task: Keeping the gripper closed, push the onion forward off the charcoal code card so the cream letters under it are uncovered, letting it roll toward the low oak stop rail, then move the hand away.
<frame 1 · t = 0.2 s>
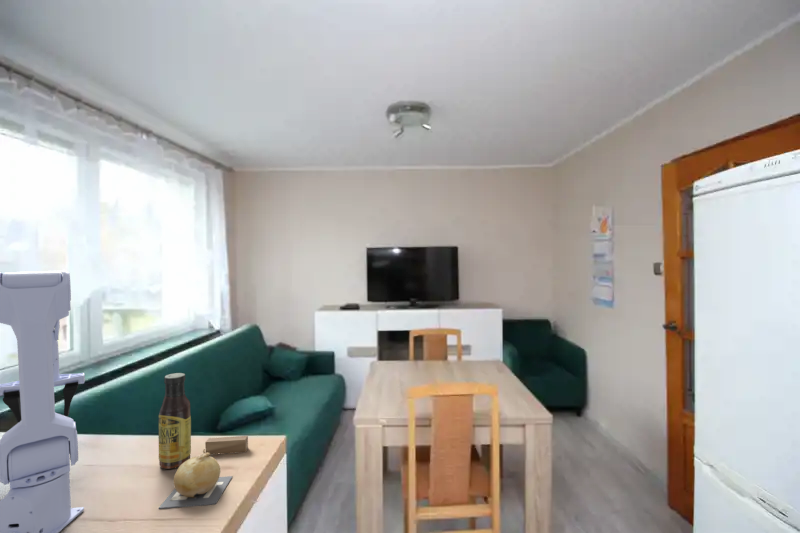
hand: (44, 418, 88), 10 cm above the table, tool pointing down, fingers open, 7 cm apart
stop rail: (227, 451, 91), on the table
sauce bottle: (176, 464, 86), on the table
code card: (197, 491, 75), on the table
onion: (197, 491, 75), resting on code card
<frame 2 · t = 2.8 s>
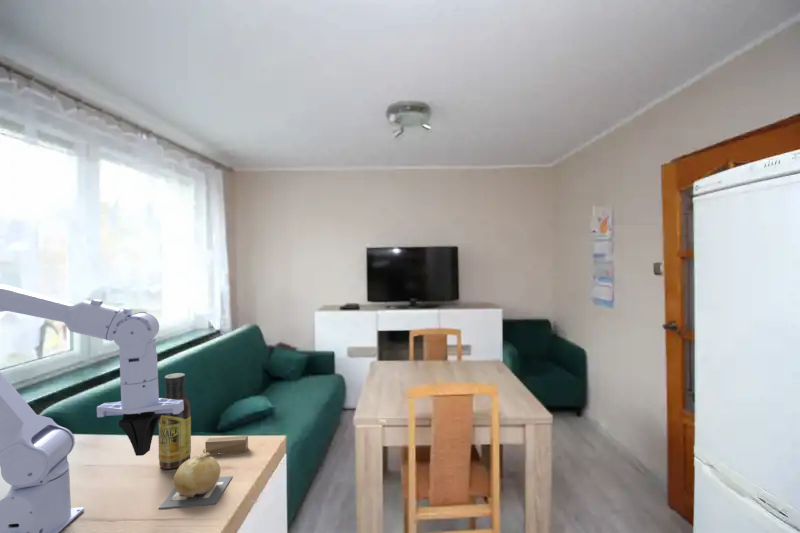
hand: (142, 452, 71), 10 cm above the table, tool pointing down, fingers closed
nothing on the table moved.
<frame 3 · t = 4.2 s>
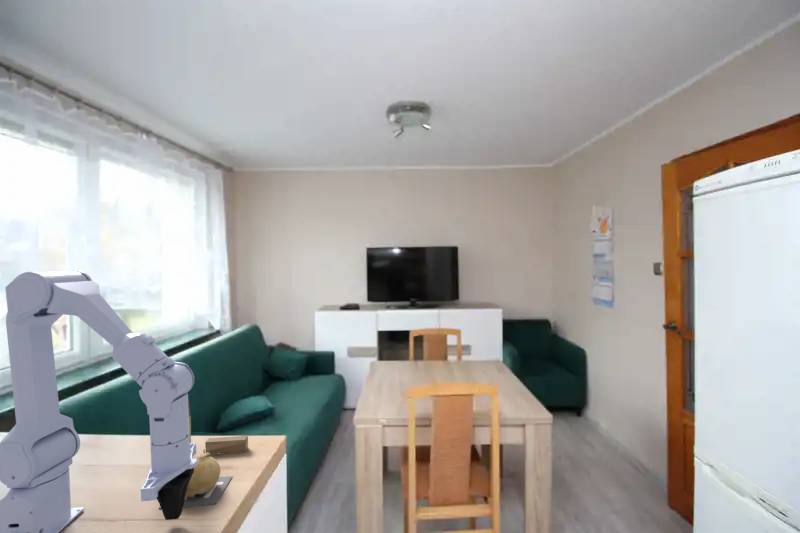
hand: (173, 516, 66), 1 cm above the table, tool pointing down, fingers closed
nothing on the table moved.
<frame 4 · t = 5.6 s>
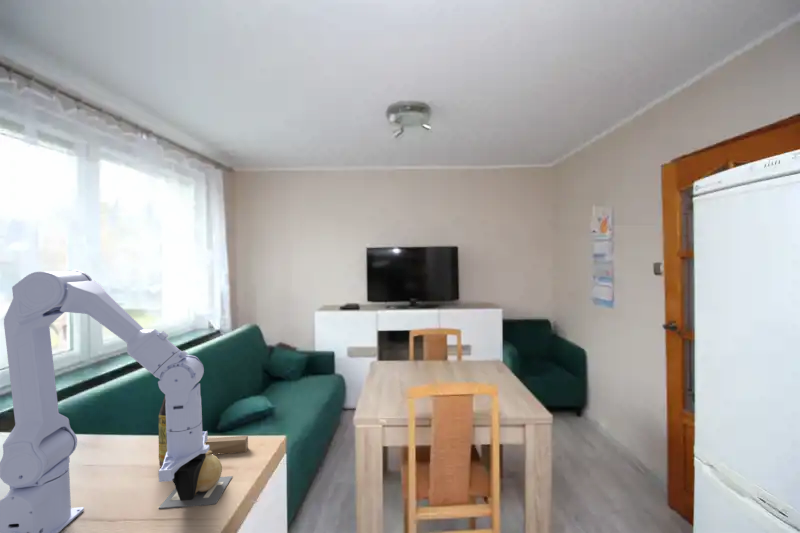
hand: (187, 498, 71), 1 cm above the table, tool pointing down, fingers closed
onion: (199, 489, 76), resting on code card, touching gripper
everything else where it was.
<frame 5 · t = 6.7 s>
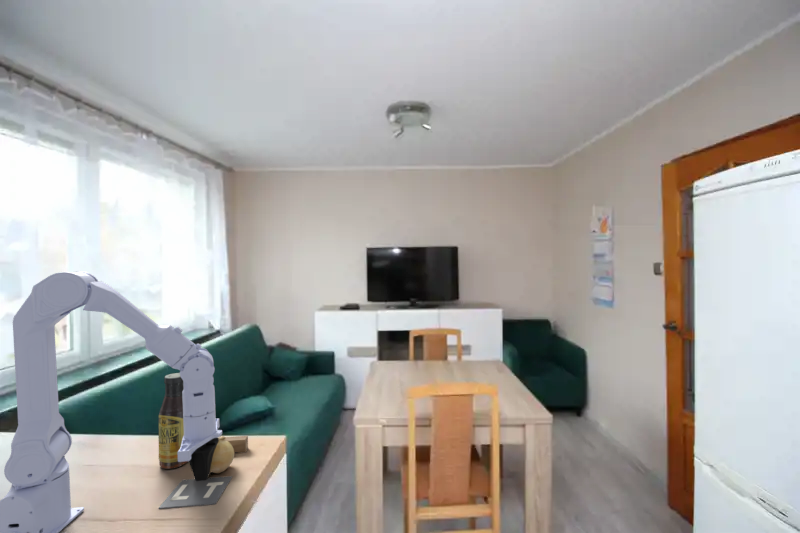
hand: (202, 479, 77), 1 cm above the table, tool pointing down, fingers closed
onion: (213, 472, 82), on the table, touching gripper
everything else where it was.
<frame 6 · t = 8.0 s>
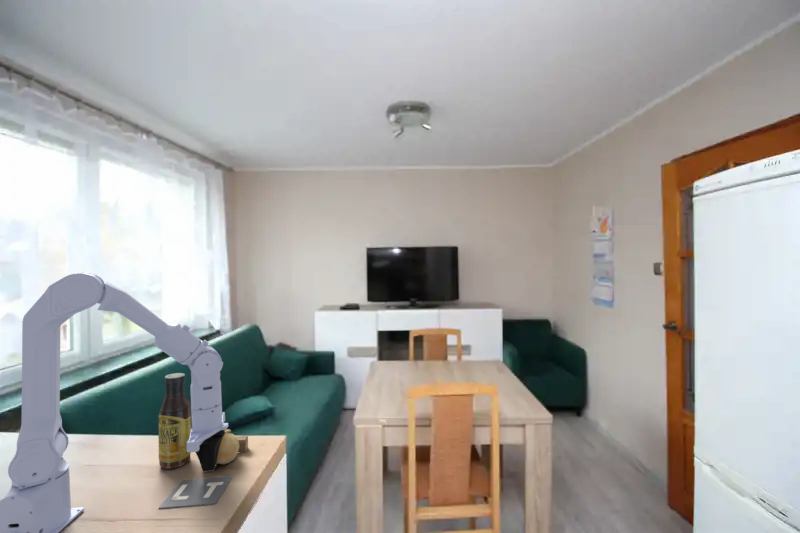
hand: (209, 469, 81), 1 cm above the table, tool pointing down, fingers closed
onion: (219, 463, 86), on the table, touching gripper
everything else where it was.
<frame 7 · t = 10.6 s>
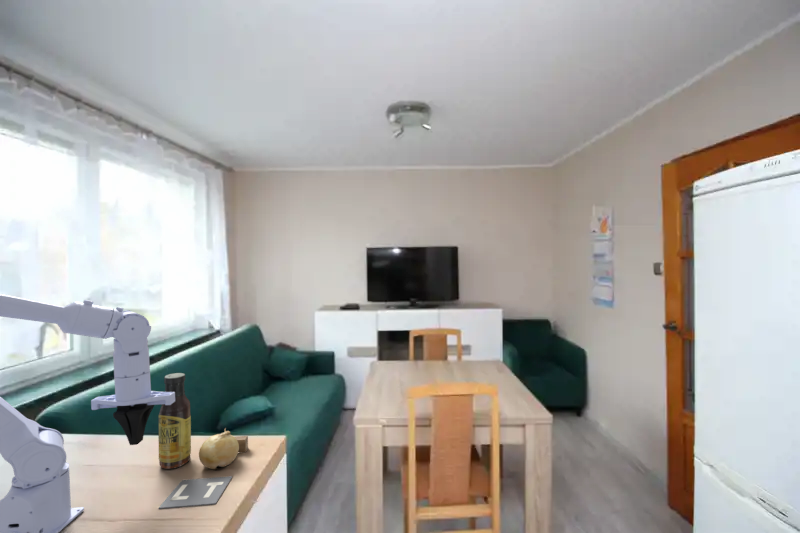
hand: (136, 442, 75), 10 cm above the table, tool pointing down, fingers closed
onion: (219, 465, 86), on the table
everything else where it was.
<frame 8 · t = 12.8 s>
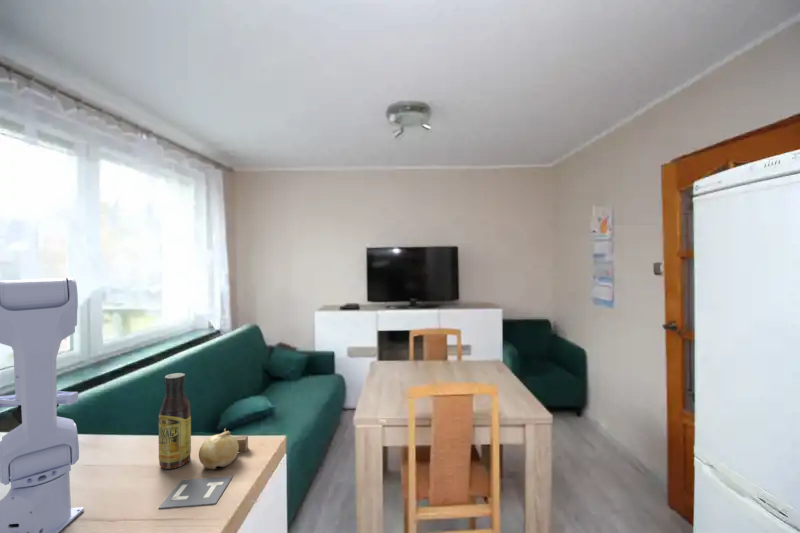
hand: (37, 441, 77), 10 cm above the table, tool pointing down, fingers closed
nothing on the table moved.
at the end: onion inside the target area (1.0 cm from its centre), on the table; onion touching table; onion moved 10.5 cm from its start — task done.
